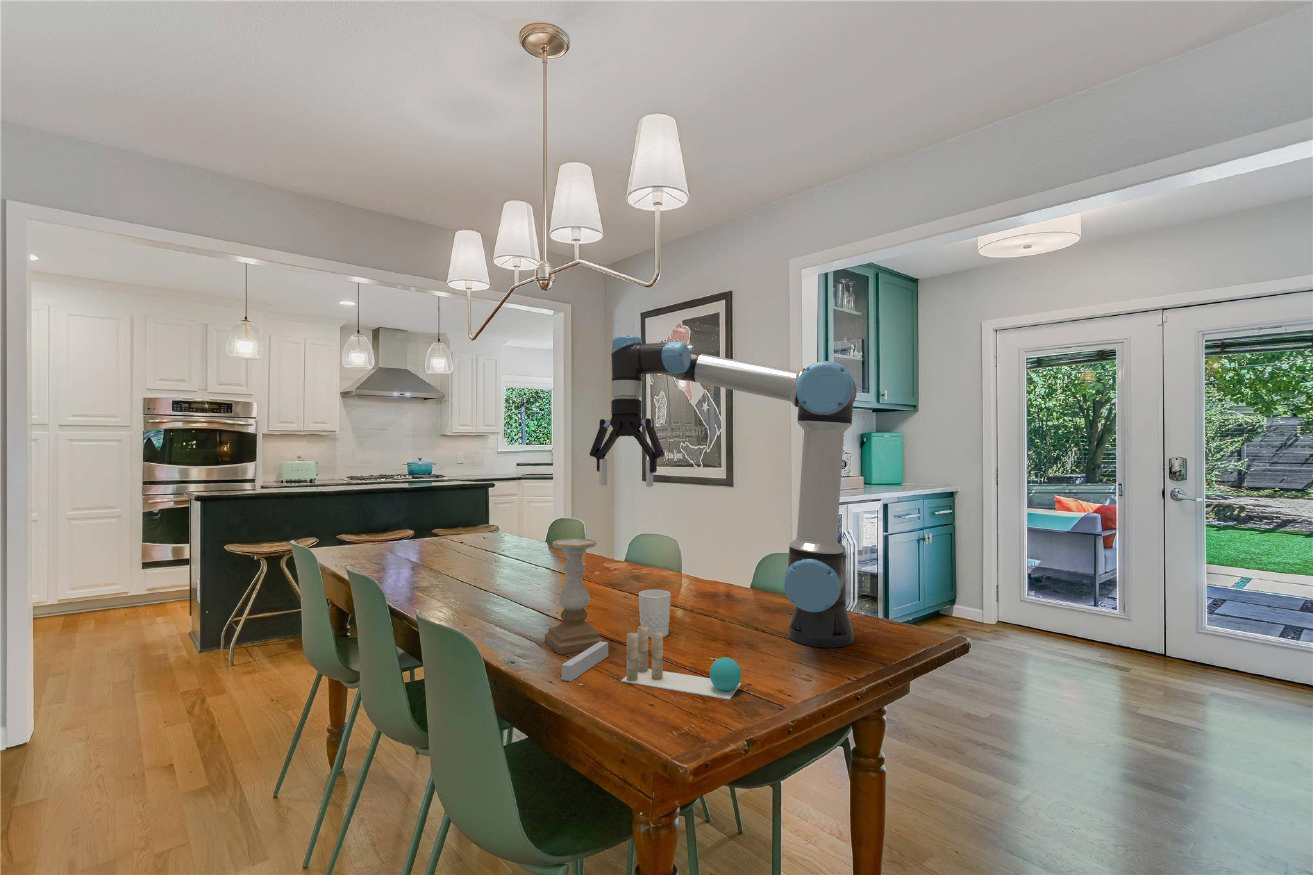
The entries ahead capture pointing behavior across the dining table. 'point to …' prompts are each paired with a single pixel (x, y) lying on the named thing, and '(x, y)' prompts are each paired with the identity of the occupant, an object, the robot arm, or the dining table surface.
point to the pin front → (657, 655)
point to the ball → (725, 674)
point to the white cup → (655, 610)
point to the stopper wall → (584, 661)
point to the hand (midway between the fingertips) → (626, 485)
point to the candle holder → (573, 603)
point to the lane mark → (683, 684)
